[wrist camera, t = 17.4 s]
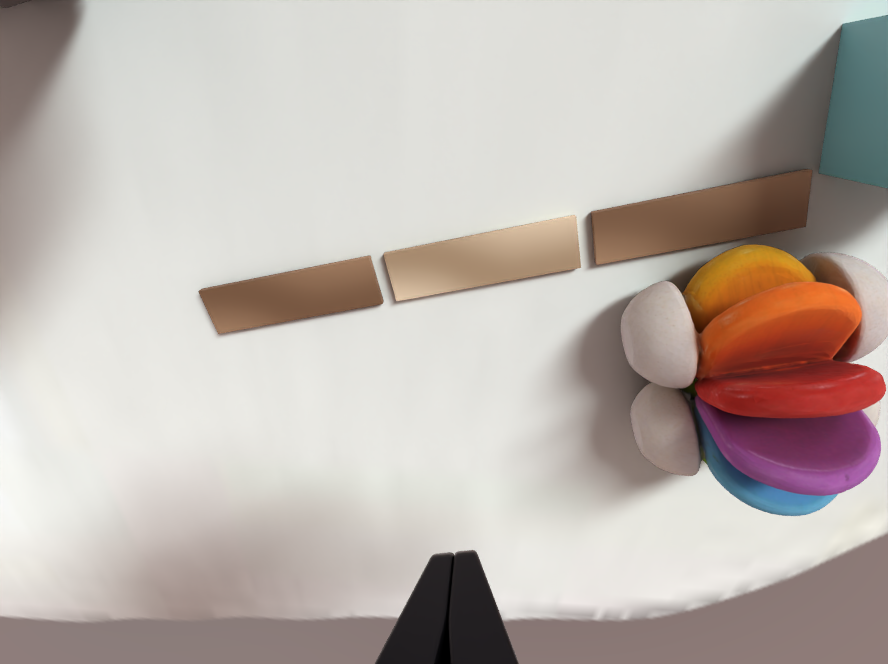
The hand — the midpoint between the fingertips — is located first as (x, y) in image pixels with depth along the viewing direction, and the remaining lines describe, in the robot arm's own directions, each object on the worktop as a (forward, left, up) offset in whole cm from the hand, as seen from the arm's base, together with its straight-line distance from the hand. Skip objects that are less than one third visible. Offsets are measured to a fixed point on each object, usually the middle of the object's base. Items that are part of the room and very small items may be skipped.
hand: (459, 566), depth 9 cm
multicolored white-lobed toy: (+4, +10, -12) cm, 16 cm away
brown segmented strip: (-2, +1, -12) cm, 12 cm away
